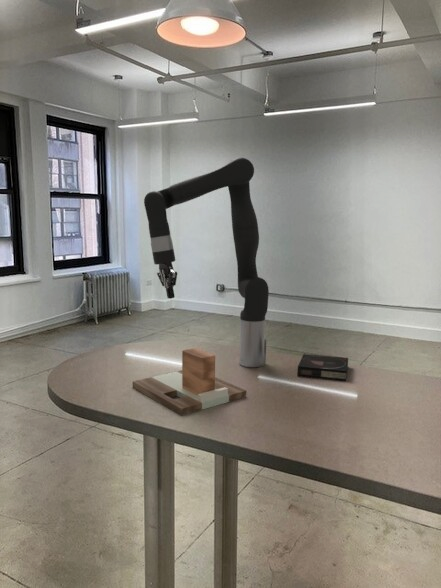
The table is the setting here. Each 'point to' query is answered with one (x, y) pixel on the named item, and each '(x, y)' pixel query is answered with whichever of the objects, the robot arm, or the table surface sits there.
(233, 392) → the lane board
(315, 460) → the table surface
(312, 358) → the portable cd player
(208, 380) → the block
